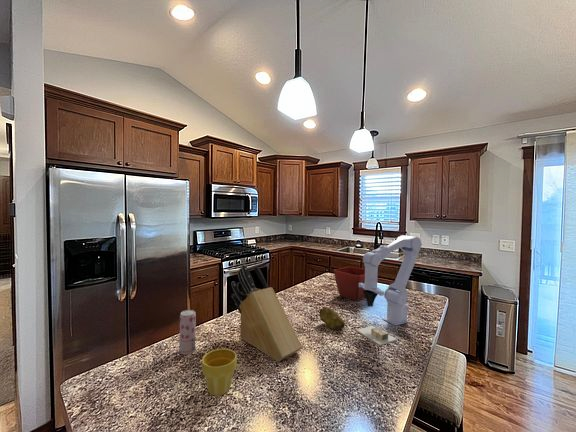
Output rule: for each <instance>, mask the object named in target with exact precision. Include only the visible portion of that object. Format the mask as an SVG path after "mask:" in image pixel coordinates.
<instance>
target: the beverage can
mask: <svg viewBox="0 0 576 432" xmlns="http://www.w3.org/2000/svg"><path fill="white" fill-rule="evenodd" d="M196 314H197V313H196V311H195V310H194V309H185V310H182V311H181V312H180V315H179V353H180V354H181V355H185V356H186V355H191V354H193V353H194V352H195V351H196V333H197V331H196V324H197V323H196V319H197V315H196Z"/></svg>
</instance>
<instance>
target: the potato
mask: <svg viewBox="0 0 576 432" xmlns="http://www.w3.org/2000/svg"><path fill="white" fill-rule="evenodd" d="M318 315H319V318H320V320H321V321H322V322H323V323H324V324H325V326H327V327H328V328H329V329H331V330H332V329H333V330H337V331H338V330H342V329H344V328H345V325H346V324H345V321H344V319H343V318H342V317H341V316H340V315H339V314H338V312H337V311H335V310H334V309H332V308H331V307H328V306H325V307H321V308H320V309H319V313H318Z"/></svg>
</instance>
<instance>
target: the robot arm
mask: <svg viewBox="0 0 576 432" xmlns="http://www.w3.org/2000/svg"><path fill="white" fill-rule="evenodd" d="M422 246H423V244H422V241H421V239H420V237H419V236H412V235H411V236H410V235H404V234H402V235H399V236H398V237H397V238H396V239H395V240H394V241H392V242H390V243H389V244H388V245H380V246H379V247H378V248H376V249H373V250H372V251H371V252H370V251H368V252H366V253H364V255H363V257H362V261H363V263H364V269H365V284H364V283H359V287H361V288H363V289H365V291H363V293H364V295H365V297H366V298H365V300H366V305H367V307H373V306H374V302H375V300H376V297H378V296H380V297H383V296H384V299H386V302H387V304H386V305H387V309H386V310H387V311H386V317H383V318H382V320H384V321H385V322H388V323H389V324H392V325H393V326H399V325H403V324H407V323H409V320H408V306H407V305H406V304H407V301H408V294H409V292H408V291H407V289H406V286H407V284H408V281H409V279H410V276H411V273H412V271H413V269H414V266H415V264H416V261H417V258H418V256H419V253H420V251H421V248H422ZM398 249H401V251H402V252H403V253H404V258H403V260H402V262H401V265H400V267H399V270H398V272H397V275H396V278H395V280H394V282H393V283H391V284H389V285H388V286H387V288H386V289H385V290H382V289H381V288H379V287H378V272H379V269H378V268H379V265H380V264H381V262H382V261H383V260H385V259H386V258H388V257H390V256H391V255H392V254H391V253H392V252H395V251H396V250H398Z"/></svg>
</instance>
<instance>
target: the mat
mask: <svg viewBox="0 0 576 432" xmlns="http://www.w3.org/2000/svg"><path fill="white" fill-rule="evenodd" d="M373 328H377V327H376V326H374V325H371V326H370V325H369V326H366V327H362V328H358V329H356V332H357V333H359V334H361V335H362V336H363V337H365V338H367V339H369V341H372V342H373V343H375V344H377V345H378V346H383V345H387V344H390V343H393V342H397V341H398V339H397V338H396V337H394V336H392V335H390V333H389V334H388V339H386V340H383V341H381V340H379V339H378V338H376V337H374V336H373V335H371V329H373Z"/></svg>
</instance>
